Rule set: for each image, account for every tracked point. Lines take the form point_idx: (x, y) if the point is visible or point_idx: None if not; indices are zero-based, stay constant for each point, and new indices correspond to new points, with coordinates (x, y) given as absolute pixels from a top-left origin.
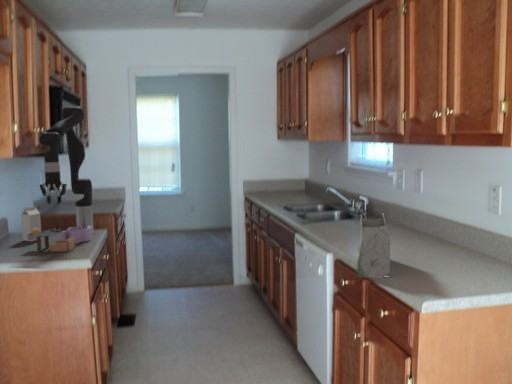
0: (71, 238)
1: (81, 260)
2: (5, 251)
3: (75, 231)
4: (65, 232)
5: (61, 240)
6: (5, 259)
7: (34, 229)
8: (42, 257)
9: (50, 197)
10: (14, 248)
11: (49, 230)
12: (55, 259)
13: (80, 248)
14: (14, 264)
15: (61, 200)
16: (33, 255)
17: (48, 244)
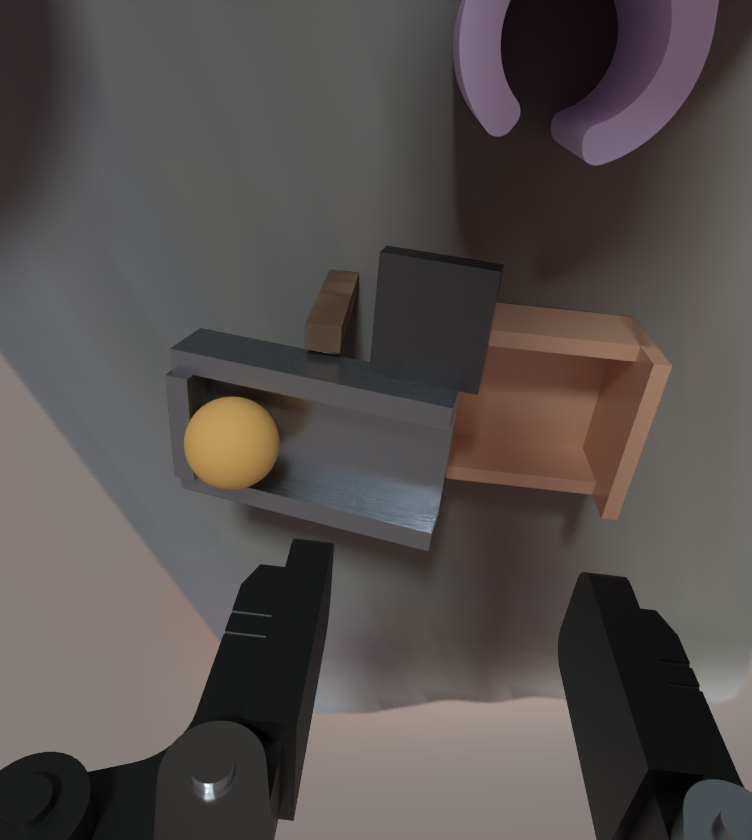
0: (640, 445)
1: (709, 699)
2: (19, 367)
3: (674, 104)
4: (518, 115)
5: (506, 344)
6: (194, 600)
7: (225, 488)
8: (429, 596)
9: (303, 712)
10: (14, 250)
11: (428, 550)
12: (535, 653)
13: (687, 364)
14: (319, 704)
15: (683, 652)
16: (338, 535)
17: (355, 294)
